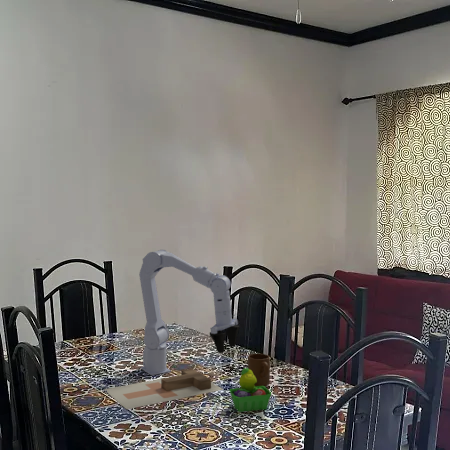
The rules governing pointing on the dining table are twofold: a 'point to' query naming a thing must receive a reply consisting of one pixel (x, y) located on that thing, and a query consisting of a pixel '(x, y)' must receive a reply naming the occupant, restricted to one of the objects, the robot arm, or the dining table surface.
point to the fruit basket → (249, 393)
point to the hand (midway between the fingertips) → (226, 349)
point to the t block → (186, 381)
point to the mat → (152, 393)
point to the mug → (260, 368)
